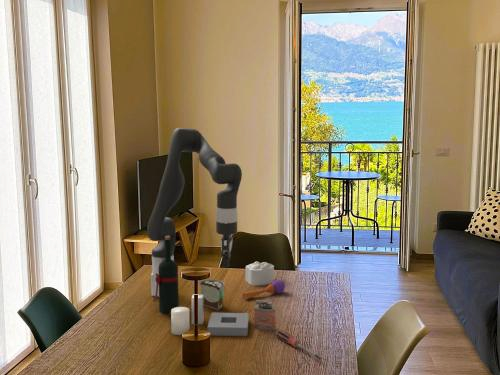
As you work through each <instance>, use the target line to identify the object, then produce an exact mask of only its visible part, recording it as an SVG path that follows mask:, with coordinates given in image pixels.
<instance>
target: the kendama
mask: <svg viewBox="0 0 500 375" xmlns="http://www.w3.org/2000/svg"><path fill="white" fill-rule="evenodd" d="M285 288H286V284H285V282H284V281H283V280H281V279H274V281H273V282H272V283H270V284H267V286H266V287H265V288H263V289H258V290H252V291H245V292H243V293H242V299H243V300H244V301H248V300H249V299H252V298H255V297H256V296H260V295H261V294H263V293H270V294H282V293H283V292H284V291H285Z"/></svg>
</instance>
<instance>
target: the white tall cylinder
mask: <svg viewBox="0 0 500 375" xmlns="http://www.w3.org/2000/svg"><path fill="white" fill-rule="evenodd" d="M194 295H195V294H192V296H191V305H190V306H191V325H195V324H194ZM197 295H198V324H197V325H203V323H204V319H205V314H204V312H205V309H204V308H205V307H204V306H205V305H204V295H202V294H197Z"/></svg>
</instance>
